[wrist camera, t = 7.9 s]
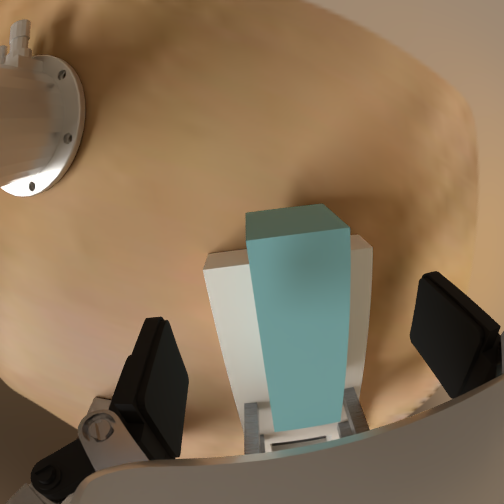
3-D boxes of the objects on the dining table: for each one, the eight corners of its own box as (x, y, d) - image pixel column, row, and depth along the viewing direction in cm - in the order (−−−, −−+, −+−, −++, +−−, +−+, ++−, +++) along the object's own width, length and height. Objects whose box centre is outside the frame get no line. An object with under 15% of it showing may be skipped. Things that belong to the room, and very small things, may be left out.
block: (245, 213, 19) (245, 240, 14) (322, 203, 19) (349, 227, 14) (269, 382, 24) (274, 432, 19) (326, 374, 24) (340, 421, 19)
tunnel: (244, 403, 25) (244, 475, 18) (353, 386, 25) (377, 453, 18) (253, 440, 28) (255, 502, 20) (347, 426, 28) (364, 484, 20)
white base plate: (207, 253, 23) (203, 270, 20) (358, 234, 23) (372, 247, 20) (254, 452, 34) (255, 470, 31) (342, 439, 33) (347, 456, 30)
